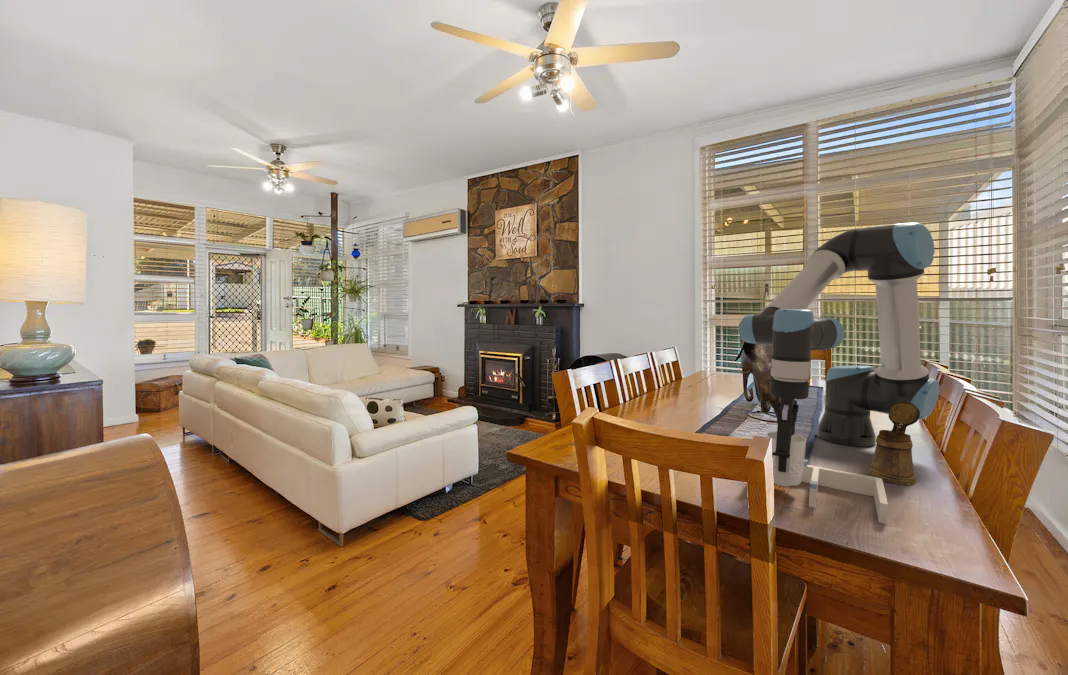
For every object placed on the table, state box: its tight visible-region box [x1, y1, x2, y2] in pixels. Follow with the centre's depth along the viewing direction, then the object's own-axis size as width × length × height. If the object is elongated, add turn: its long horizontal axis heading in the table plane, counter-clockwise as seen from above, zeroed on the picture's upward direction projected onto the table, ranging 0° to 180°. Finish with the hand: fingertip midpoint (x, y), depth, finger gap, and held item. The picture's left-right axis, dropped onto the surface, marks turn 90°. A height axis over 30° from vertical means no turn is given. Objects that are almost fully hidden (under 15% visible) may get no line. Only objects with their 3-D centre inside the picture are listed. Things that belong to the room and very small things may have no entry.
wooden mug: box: [869, 401, 920, 486], centre depth 110 cm, size 9×14×18 cm, turn 127°
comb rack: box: [801, 458, 889, 525], centre depth 100 cm, size 15×25×5 cm, turn 56°
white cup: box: [765, 431, 808, 487], centre depth 101 cm, size 8×8×10 cm
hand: (783, 478), depth 101 cm, fingers closed on white cup, 7 cm apart
